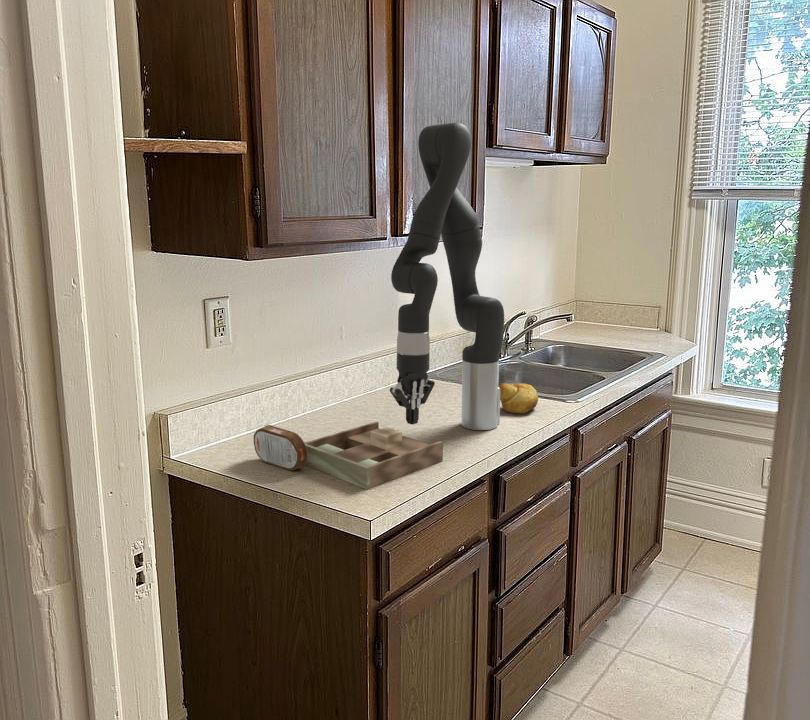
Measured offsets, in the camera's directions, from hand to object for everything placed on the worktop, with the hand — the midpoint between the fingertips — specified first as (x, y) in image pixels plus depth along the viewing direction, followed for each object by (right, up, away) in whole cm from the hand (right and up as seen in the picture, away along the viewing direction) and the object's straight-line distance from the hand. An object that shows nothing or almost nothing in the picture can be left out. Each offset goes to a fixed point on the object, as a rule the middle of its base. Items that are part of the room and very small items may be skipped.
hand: (412, 423), depth 176 cm
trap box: (-9, -8, -8) cm, 14 cm away
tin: (-29, -9, -10) cm, 32 cm away
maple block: (-6, -4, -5) cm, 9 cm away
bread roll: (+30, +1, +32) cm, 44 cm away
